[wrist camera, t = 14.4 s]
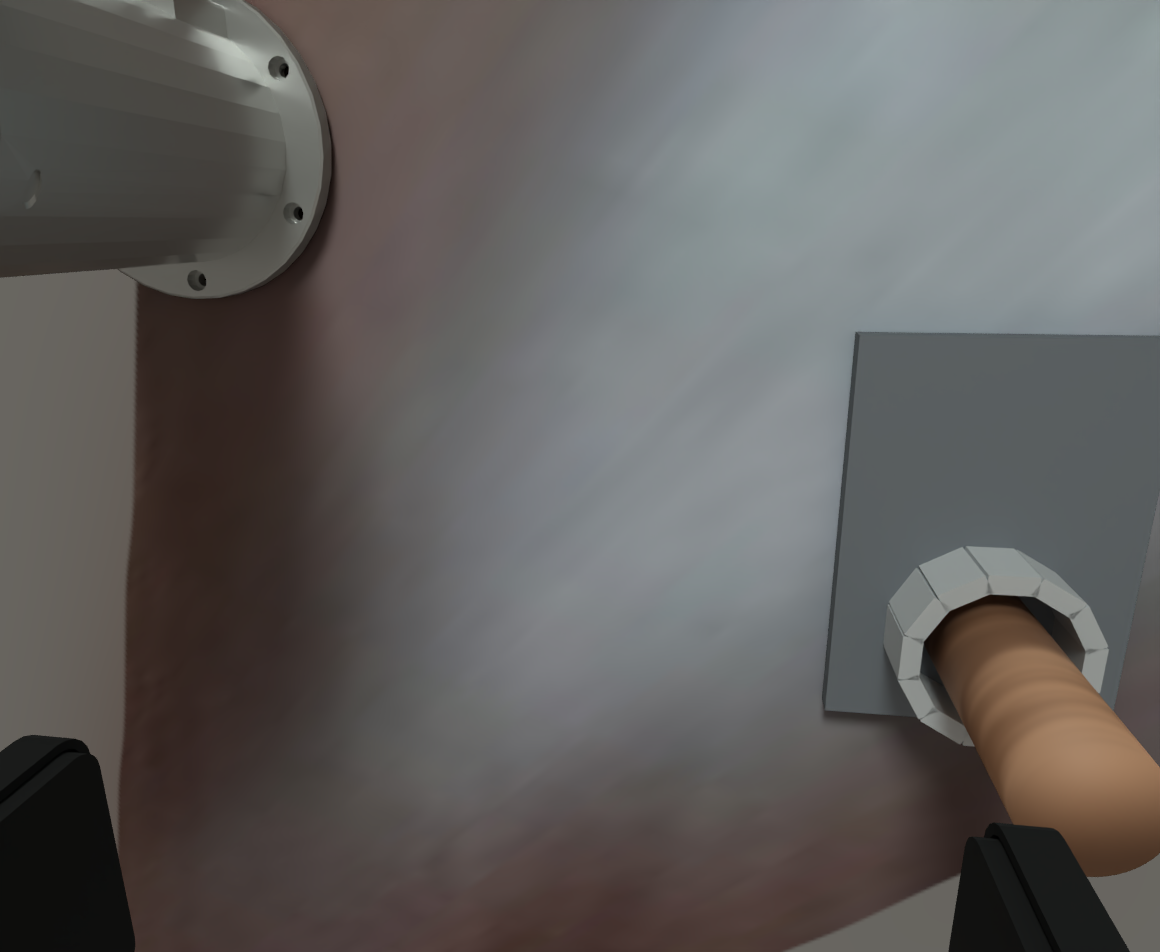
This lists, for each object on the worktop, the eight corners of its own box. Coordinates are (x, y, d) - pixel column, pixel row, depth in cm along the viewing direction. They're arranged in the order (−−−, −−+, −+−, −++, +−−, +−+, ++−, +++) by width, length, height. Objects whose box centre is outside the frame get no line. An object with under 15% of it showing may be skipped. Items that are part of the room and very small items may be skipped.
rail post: (926, 579, 35) (1024, 742, 24) (1037, 584, 35) (1193, 754, 23) (916, 671, 36) (1005, 868, 25) (1023, 678, 36) (1165, 884, 24)
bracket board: (855, 332, 34) (874, 345, 30) (1176, 336, 32) (1239, 351, 28) (822, 698, 39) (834, 749, 35) (1098, 718, 37) (1143, 775, 33)
